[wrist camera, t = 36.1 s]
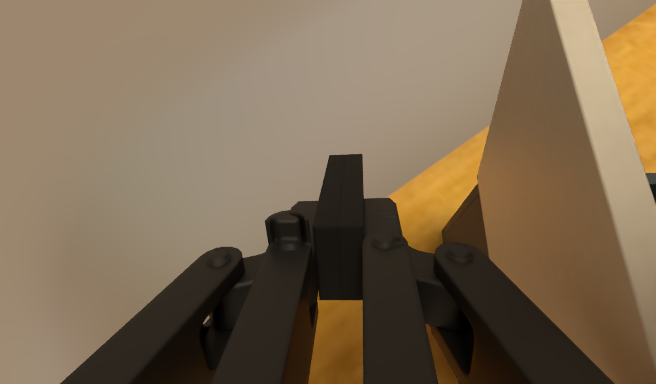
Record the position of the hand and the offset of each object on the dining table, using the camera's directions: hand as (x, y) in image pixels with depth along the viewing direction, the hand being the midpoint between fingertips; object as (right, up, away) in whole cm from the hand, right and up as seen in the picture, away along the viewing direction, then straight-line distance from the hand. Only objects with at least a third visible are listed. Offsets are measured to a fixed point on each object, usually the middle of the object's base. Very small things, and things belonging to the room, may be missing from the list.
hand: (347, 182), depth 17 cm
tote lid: (+8, -3, -2) cm, 9 cm away
